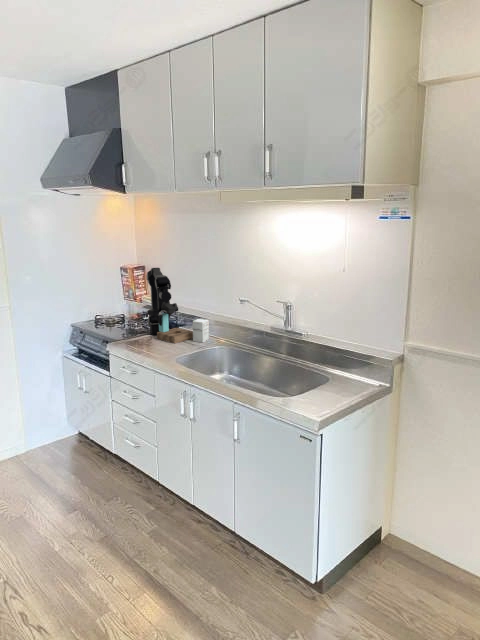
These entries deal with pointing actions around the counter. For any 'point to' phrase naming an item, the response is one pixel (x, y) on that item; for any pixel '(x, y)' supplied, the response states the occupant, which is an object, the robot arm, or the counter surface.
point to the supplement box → (200, 330)
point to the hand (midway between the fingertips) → (163, 325)
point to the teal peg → (164, 323)
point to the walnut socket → (175, 335)
